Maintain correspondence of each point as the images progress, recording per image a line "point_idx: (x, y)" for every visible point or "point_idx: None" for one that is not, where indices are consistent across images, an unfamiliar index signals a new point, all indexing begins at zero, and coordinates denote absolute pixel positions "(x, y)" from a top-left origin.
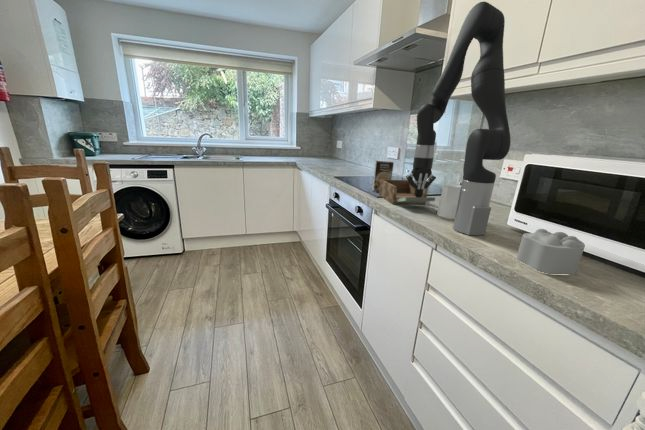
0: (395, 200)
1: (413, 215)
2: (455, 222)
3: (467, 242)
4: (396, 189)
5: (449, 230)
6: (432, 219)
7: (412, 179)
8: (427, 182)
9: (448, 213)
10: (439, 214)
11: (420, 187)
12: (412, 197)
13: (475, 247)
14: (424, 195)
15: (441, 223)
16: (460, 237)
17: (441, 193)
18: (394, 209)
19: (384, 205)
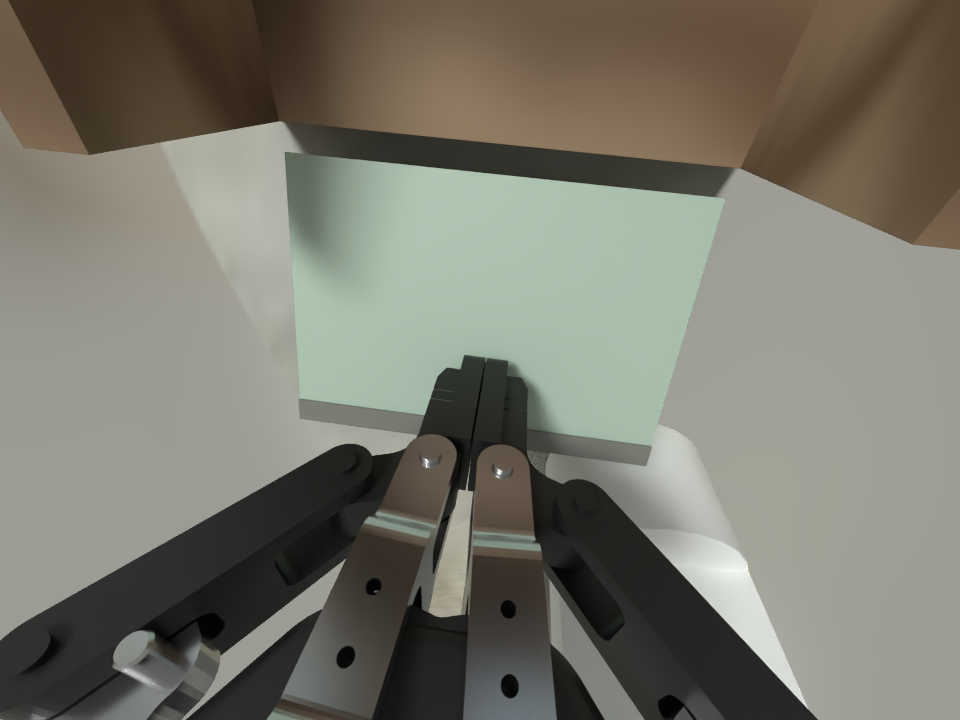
0: (283, 120)
1: (378, 433)
2: (463, 598)
3: (439, 603)
4: (136, 141)
5: (447, 562)
6: (458, 490)
7: (219, 652)
8: (645, 595)
9: None
10: (546, 472)
11: (472, 503)
12: (372, 427)
13: (438, 615)
14: (788, 187)
15: (467, 525)
16: (443, 589)
17: (561, 625)
18: (273, 306)
19: (177, 156)
